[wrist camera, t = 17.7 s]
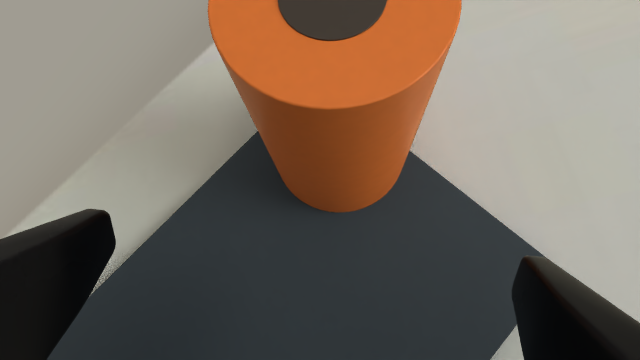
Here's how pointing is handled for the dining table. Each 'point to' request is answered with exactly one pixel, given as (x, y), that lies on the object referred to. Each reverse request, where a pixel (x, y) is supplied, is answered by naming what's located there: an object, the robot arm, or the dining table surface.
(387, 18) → the orange cylinder
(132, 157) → the dining table surface
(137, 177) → the dining table surface
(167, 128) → the dining table surface
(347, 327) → the slate mat
